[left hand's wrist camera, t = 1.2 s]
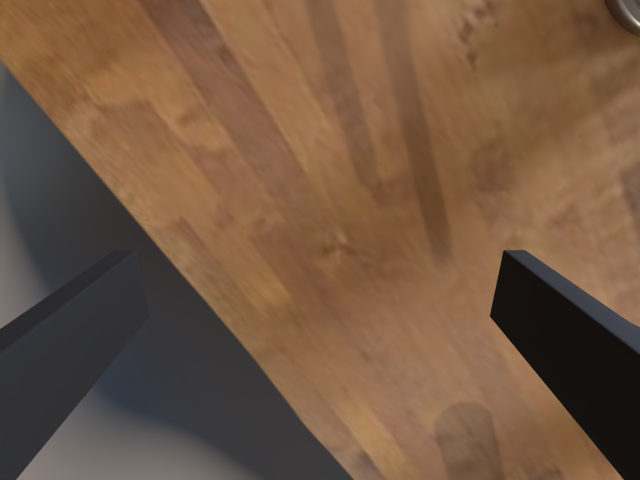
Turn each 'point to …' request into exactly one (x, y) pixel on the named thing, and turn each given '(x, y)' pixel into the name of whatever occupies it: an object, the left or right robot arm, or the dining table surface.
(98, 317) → the left robot arm
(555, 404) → the dining table surface
